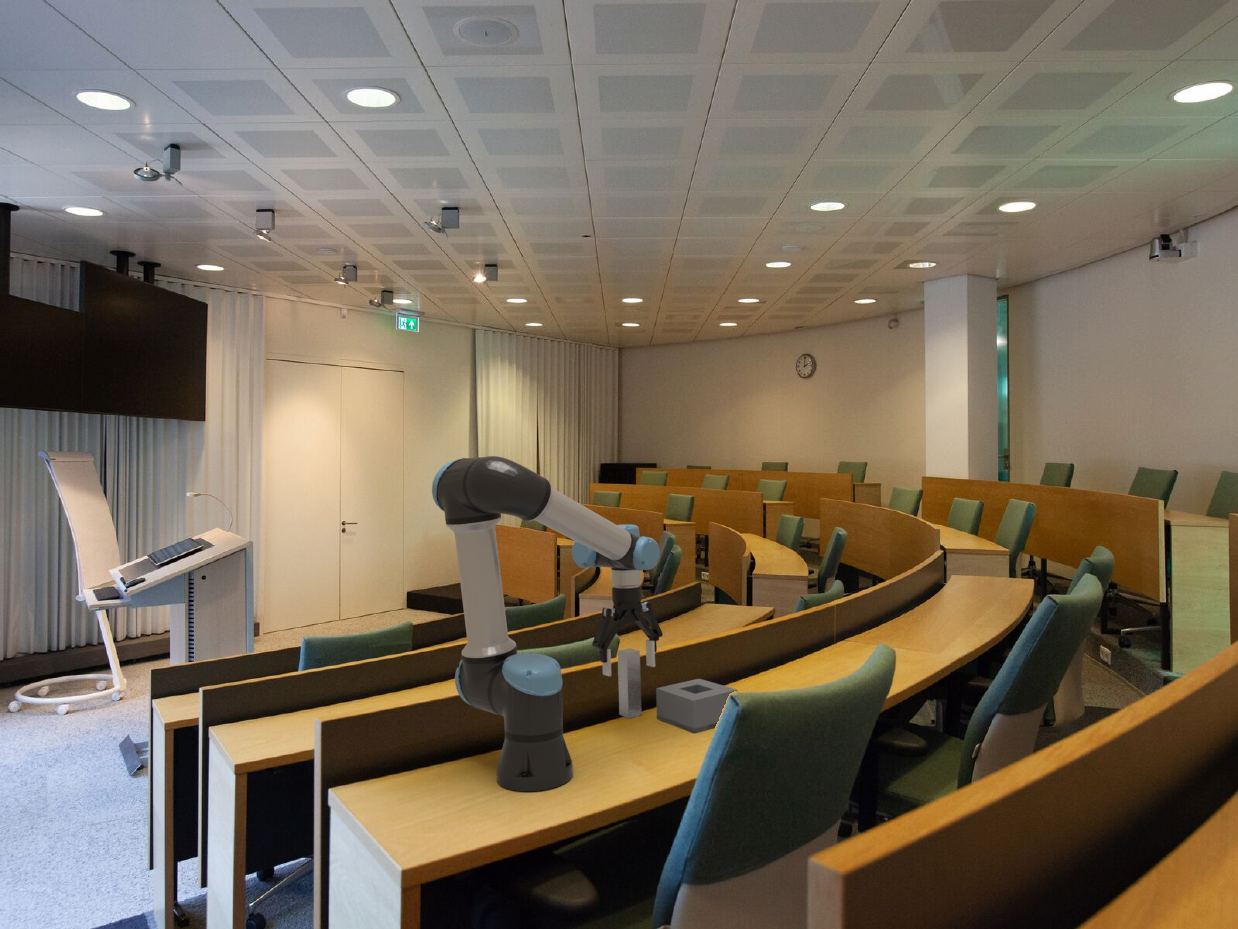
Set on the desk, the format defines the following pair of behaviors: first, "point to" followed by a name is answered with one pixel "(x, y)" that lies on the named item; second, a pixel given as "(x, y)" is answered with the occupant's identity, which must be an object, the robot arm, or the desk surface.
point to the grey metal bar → (629, 683)
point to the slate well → (692, 704)
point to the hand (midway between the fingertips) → (629, 670)
